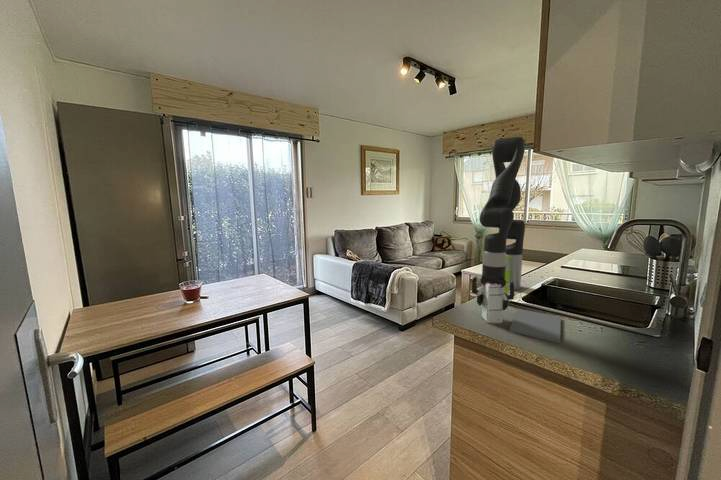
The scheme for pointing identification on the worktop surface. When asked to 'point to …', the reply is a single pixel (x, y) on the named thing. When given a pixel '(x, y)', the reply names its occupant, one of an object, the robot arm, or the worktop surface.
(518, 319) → the slate mat
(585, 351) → the worktop surface
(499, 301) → the syrup box
